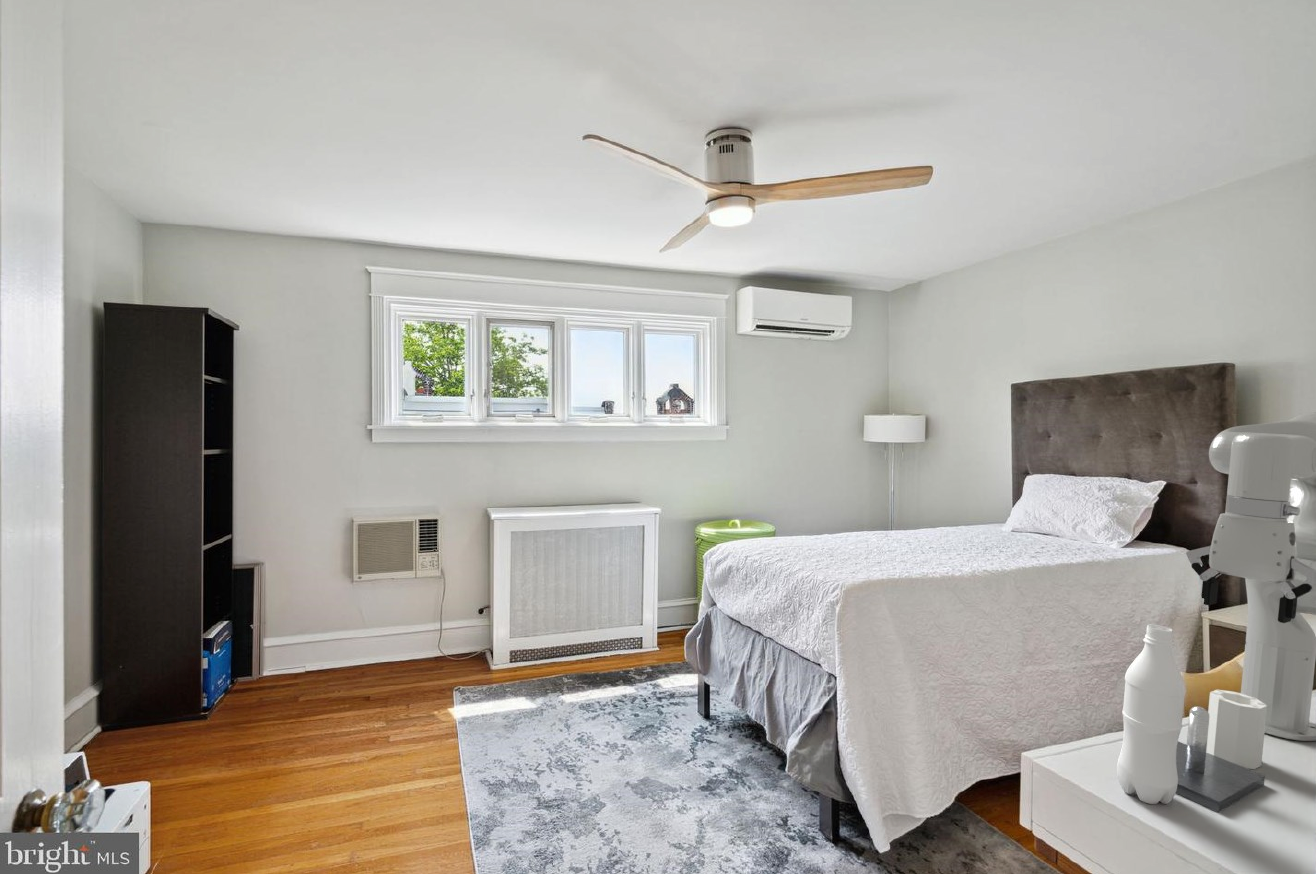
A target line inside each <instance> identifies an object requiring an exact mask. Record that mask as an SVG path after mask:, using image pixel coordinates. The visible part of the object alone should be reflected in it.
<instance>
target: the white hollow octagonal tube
mask: <svg viewBox="0 0 1316 874" xmlns="http://www.w3.org/2000/svg"><path fill="white" fill-rule="evenodd" d="M1208 699H1209V700H1208V708H1207V711H1208V713H1209V728H1208V738H1207V749H1206V753H1209V754H1212V755H1214V756H1217V757H1219V758H1222V759H1224V760H1227V761H1229V762H1232V763H1234V764H1237V765H1239V766H1242V767H1245V768H1247V769H1250V770H1256V769H1257V768H1259V767H1261V766H1262V764H1263V763H1262V761H1263V753H1264V743H1265V742H1264V741H1265V734H1266V733H1265V723H1266V713H1267V705H1265V704H1264V703H1262V702H1261V701H1260V700H1258V699H1256V698H1253V697H1250V696H1247V695H1244V694H1241V692H1238V691H1237V692H1236V691H1231V690H1224V689H1223V690H1222V689H1215V690H1213V691H1210V692H1209V697H1208Z"/></svg>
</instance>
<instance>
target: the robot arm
mask: <svg viewBox="0 0 1316 874" xmlns="http://www.w3.org/2000/svg"><path fill="white" fill-rule="evenodd" d="M1208 458H1209V462H1210V464H1211V466H1212V467H1213V469H1214V470H1215V471H1217V472H1219V473H1222V474H1226V475H1228V480H1227V490H1226V499H1225V501H1226V503H1225V510H1224V512H1223V513H1220V514H1219V517H1218V519H1217V521H1216V525H1215V528H1214V530H1213V535H1212V540H1211V544H1210V545H1208V546H1204V547H1203V546H1202V547H1200V548H1196V549H1192V550H1187V551H1186V553H1185V554H1186V557H1187V558H1188V561H1189V563H1190V564H1191V568H1192V569H1193V571H1194V572H1195V573H1196V574H1197V575H1198V576H1199V579H1200V580H1201V581H1202V585H1201V594H1200V595H1201V599H1203V605H1205V606H1211V605H1216V604H1217V602H1218V594H1219V592H1218V591H1219V584H1220V583H1219V582H1218V580H1217V578H1218V577H1219V576H1221V575H1222V574H1224V575H1228V576H1233V577H1237V578H1244V579H1245V589H1246V598H1247V621H1246V622H1247V623H1246V634H1245V643H1244V644H1245V645H1244V655H1243V665H1242V677H1241V686H1240V693H1241V694H1244V695H1247V696H1250V697H1253V698H1256V699H1258V700H1260V701H1261V702H1262V703H1264V704H1265V705H1267V713H1266V723H1265V733H1264V734H1267V735H1270V736H1274V737H1278V738H1284V739H1287V740H1293V741H1300V742H1312V741H1316V725H1314V724H1313V723H1311V722H1310V717H1311V706H1312V699H1313V698H1312V696H1313V688H1314V676H1315V668H1316V667H1315V666H1316V633H1315V631H1314V630H1313V628H1312V627H1311V625H1310V624H1309V623H1308V621H1307V620H1306V618H1305V617H1304V616H1303V615H1302V614H1306V615H1314V616H1316V412H1315V411H1314V412H1313V411H1312V412H1306V413H1302V414H1299V415H1296V416H1295V417H1293V418H1291V419H1288V420H1284V421H1274V422H1273V421H1272V422H1265V423H1257V424H1246V425H1239V426H1238V425H1237V426H1232V427H1229V428H1226V429H1224V430H1222V431H1220V432H1219V433H1218V434H1217V435H1216V436H1215V437H1214V438H1213V439H1212V441H1211V443H1210V446H1209V450H1208ZM1206 555H1208V557H1209V559H1208V564H1209V568H1207V566H1205V564H1204V563H1203V562H1202V560H1201V557H1202V556H1206Z"/></svg>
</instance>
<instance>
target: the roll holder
mask: <svg viewBox="0 0 1316 874" xmlns="http://www.w3.org/2000/svg"><path fill="white" fill-rule="evenodd" d="M1188 714H1189V715H1188V727H1187V736H1186V737H1187V738H1186V743H1184V742H1181V741H1179V740H1178V743H1177V750H1176V767H1177V775H1178V784H1177V791H1176V793H1175V794H1176V795H1180V796H1181V797H1183V798H1185V799H1188V800H1190V801H1191V802H1195V803H1197V804H1199V805H1201V806H1203V807H1205V808H1208V809H1210V810H1212V811H1215V812H1216V813H1219V812H1221V811H1223V810H1225V809H1227V808H1228V807H1230V806H1231V805H1233V804H1235V803H1237V802H1238V801H1240V800H1241V799H1243V798H1245V797H1246V796H1248V795H1250V794H1252V793H1254V792H1255V791H1257V790H1258V789H1260V788H1262V787H1264V786H1265V780H1266V775H1265V774H1261V773H1259V772H1257V771H1255V770H1253V769H1248V768H1245V767H1242V766H1239V765H1237V764H1234V763H1232V762H1229V761H1227V760H1224V759H1222V758H1219V757H1217V756H1214V755H1212V754H1209V753H1207V752H1206V749H1207V738H1208V728H1209V713H1208V709H1207V710H1206V708H1204V707H1202V706H1192V707H1191V708H1190V710H1189V713H1188Z"/></svg>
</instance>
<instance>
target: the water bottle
mask: <svg viewBox="0 0 1316 874" xmlns="http://www.w3.org/2000/svg"><path fill="white" fill-rule="evenodd" d="M1145 631H1146V634H1145V635H1144V638H1143V642H1144V646H1143V648H1142V651H1141V652H1140V653H1139V654H1138V655H1137V656H1136V657H1135V659H1134V660H1133V662H1131V664H1130V665H1129V667H1128V668H1127V670H1126V672H1125V676H1124V681H1125V685H1124V694H1123V695H1124V696H1123V707H1122V711H1121V712H1122V719H1123V736H1122V744H1121V750H1120V753H1119V756H1118V759H1117V763H1116V775H1117V779H1118V782H1119V785H1120V786H1121V789H1122V790H1123V791H1124V792H1125V793H1126V794H1129V795H1132V794H1134V793H1136V794H1137V797H1138V798H1139V800H1140V801H1142V802H1143V803H1146V804H1150V805H1156V804H1158V803H1159V802H1160V803H1162V804H1164V805H1165V804H1169V803H1170V802H1171V801H1172V800H1173V799H1174V797H1175V795H1176V794H1177V793H1176V791H1177V784H1178V775H1177V767H1176V750H1177V743H1178V741H1179V738H1180V734H1181V730H1182V729H1183V718H1184V717H1183V716H1184V704H1185V696H1186V693H1187V691H1186V687H1187V686H1186V683H1185V680H1184V677H1183V675H1182V674H1181V673H1182V672H1181V671H1180V669H1179V667H1178V665H1177V664H1176V662H1175V659H1174V657H1173V650H1172V649H1173V648H1174V646H1175V645H1174V643H1173V642H1174V641H1173V640H1172V639H1173V633H1174V631H1173V629H1172V628H1170V627H1167V626H1164V625H1159V624H1158V625H1157V624H1150V623H1149V624H1147V625H1146V630H1145Z"/></svg>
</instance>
